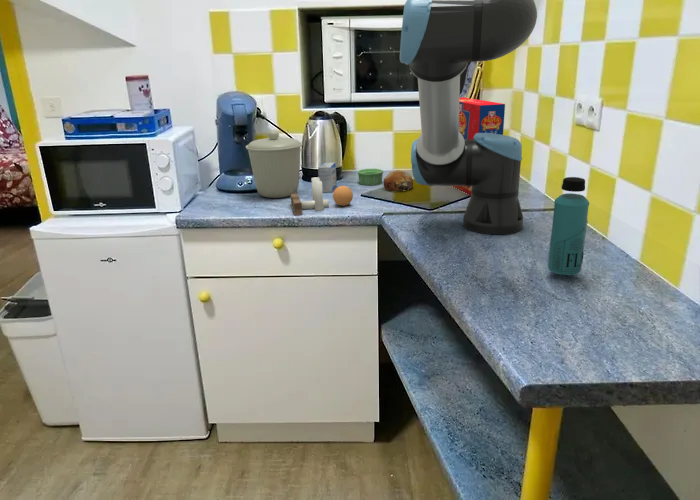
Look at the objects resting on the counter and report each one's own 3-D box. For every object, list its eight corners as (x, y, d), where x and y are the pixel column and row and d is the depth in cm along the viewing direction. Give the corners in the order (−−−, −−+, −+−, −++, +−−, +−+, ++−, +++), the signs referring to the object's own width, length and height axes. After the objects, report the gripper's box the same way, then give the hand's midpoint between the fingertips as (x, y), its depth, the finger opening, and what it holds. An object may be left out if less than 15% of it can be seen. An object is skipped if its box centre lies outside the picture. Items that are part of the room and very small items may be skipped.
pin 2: (323, 210, 156) (322, 182, 153) (315, 211, 156) (314, 183, 153) (322, 208, 159) (321, 180, 156) (314, 209, 158) (313, 181, 155)
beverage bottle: (563, 284, 103) (575, 183, 96) (538, 273, 108) (548, 176, 101) (588, 278, 105) (601, 179, 98) (563, 267, 111) (574, 173, 104)
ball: (336, 188, 155) (332, 207, 158) (356, 192, 157) (351, 210, 159) (334, 181, 161) (329, 199, 163) (353, 184, 162) (348, 202, 165)
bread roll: (412, 196, 182) (412, 173, 183) (413, 190, 172) (413, 166, 173) (383, 196, 183) (384, 174, 184) (382, 191, 173) (383, 167, 174)
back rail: (302, 214, 153) (301, 203, 152) (295, 215, 153) (294, 203, 151) (297, 204, 164) (297, 193, 163) (291, 204, 164) (290, 193, 162)
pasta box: (439, 179, 189) (441, 98, 179) (459, 177, 190) (463, 97, 181) (475, 199, 163) (480, 105, 153) (498, 196, 165) (505, 103, 155)
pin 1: (321, 206, 161) (319, 178, 158) (313, 206, 161) (312, 179, 158) (320, 204, 163) (318, 177, 160) (312, 204, 163) (310, 177, 160)
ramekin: (385, 180, 191) (385, 168, 189) (380, 186, 182) (380, 174, 181) (360, 180, 193) (360, 168, 191) (355, 186, 184) (355, 173, 183)
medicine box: (332, 192, 176) (331, 167, 173) (319, 192, 177) (317, 167, 174) (336, 187, 183) (335, 162, 180) (324, 187, 184) (323, 162, 181)
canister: (311, 188, 183) (307, 126, 175) (297, 202, 166) (292, 134, 159) (261, 187, 186) (255, 126, 179) (242, 201, 169) (235, 134, 162)
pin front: (328, 200, 158) (300, 203, 157) (329, 208, 159) (300, 210, 158) (327, 198, 160) (299, 200, 159) (327, 205, 161) (300, 208, 160)
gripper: (466, 30, 145) (463, 118, 154) (421, 32, 143) (420, 121, 151) (478, 29, 139) (473, 121, 147) (430, 30, 136) (428, 124, 144)
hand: (446, 121), depth 149 cm, fingers closed
